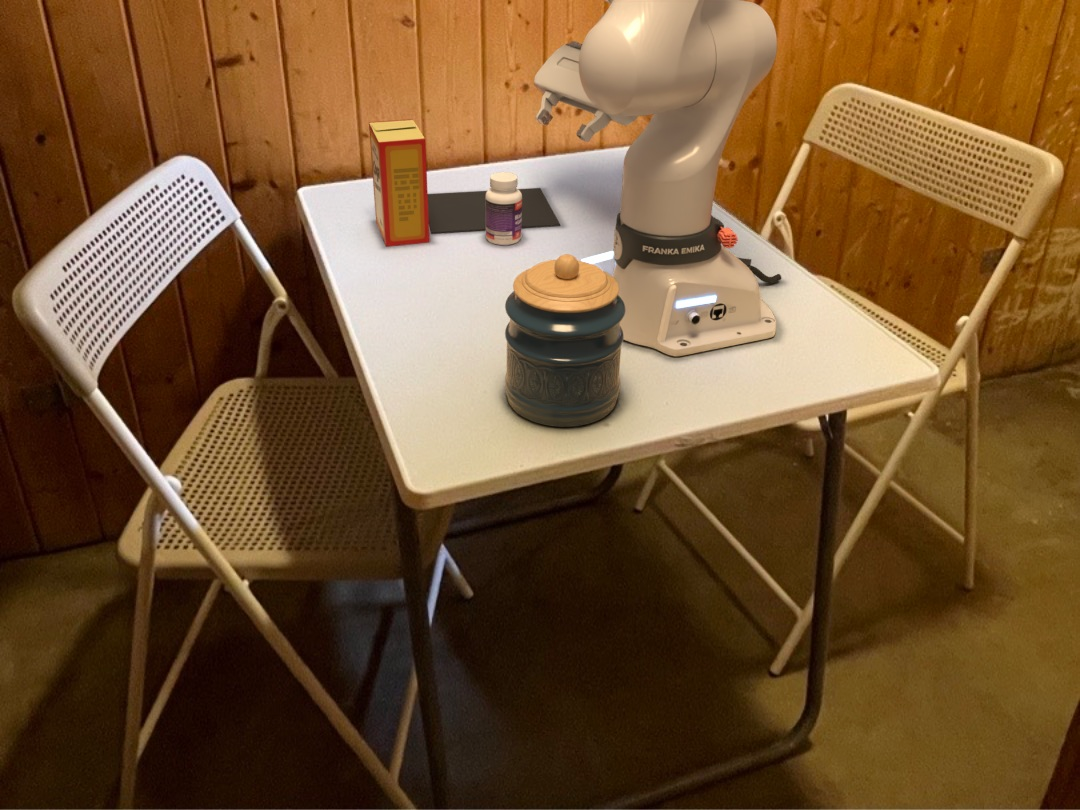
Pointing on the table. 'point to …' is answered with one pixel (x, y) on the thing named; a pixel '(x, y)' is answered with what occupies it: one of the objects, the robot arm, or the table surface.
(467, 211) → the rubber mat
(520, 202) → the pill bottle
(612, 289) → the canister
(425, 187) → the baking soda box
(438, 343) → the table surface
